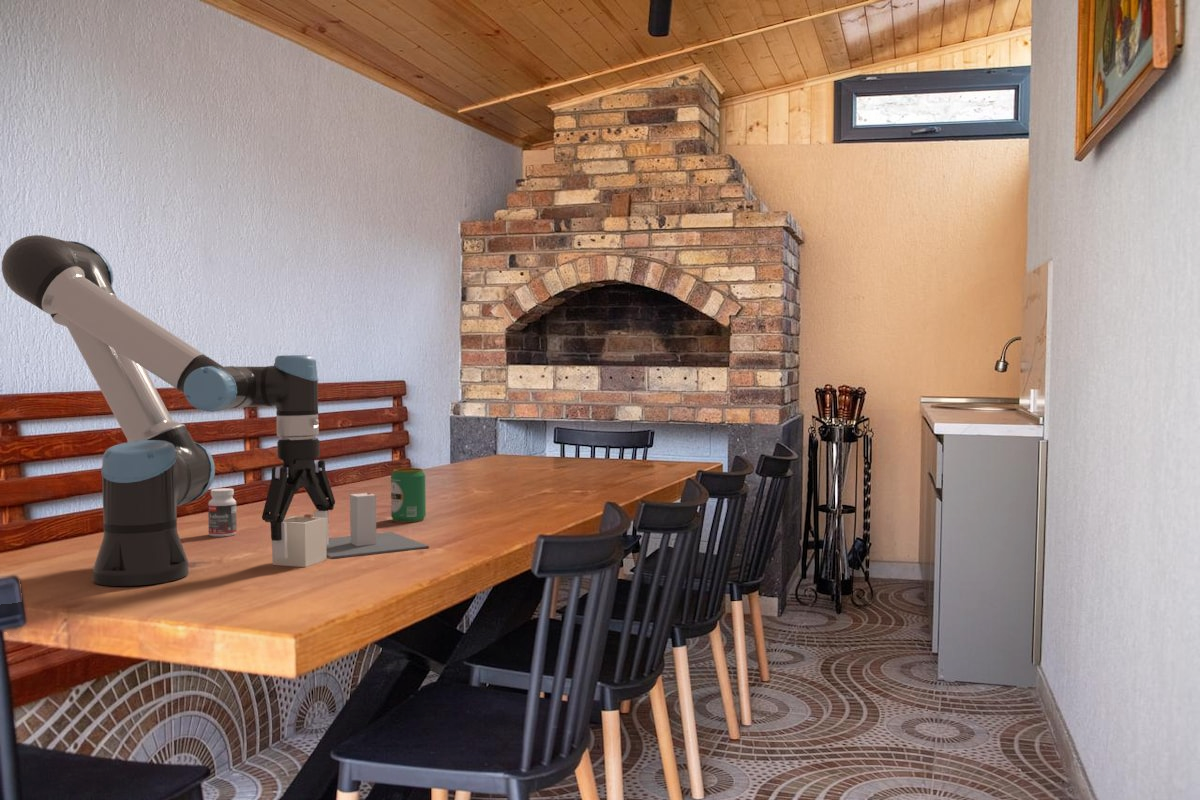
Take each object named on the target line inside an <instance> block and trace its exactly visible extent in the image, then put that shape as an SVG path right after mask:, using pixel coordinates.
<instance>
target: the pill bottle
mask: <svg viewBox="0 0 1200 800" xmlns="http://www.w3.org/2000/svg"><path fill="white" fill-rule="evenodd" d="M234 494H235V490H234V488H231V487H230V488H227V487H224V488H220V487H219V488H212V489H211V490H210V496H211V499H210V500H209V501H208V505H207V506H208V507H207V508H208V512H207V513H208V535H209V536H210V537H214V538H215V537H216V538H219V537H220V538H221V537H222V538H223V537H224V538H225V537H230V536H234V535H236V534H237V524H238V523H237V500H235V498H233V497H234Z"/></svg>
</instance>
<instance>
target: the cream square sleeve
mask: <svg viewBox="0 0 1200 800" xmlns="http://www.w3.org/2000/svg"><path fill="white" fill-rule="evenodd" d="M283 522H287V548H288V558H272V566H287V567H299V568H300V567H301V568H306V567H310V566H312V565H317V564H318V563H321V562H324V561H327V558H328V557H327V553H326V518H319V517H314V514H308V513H307V514H303V516H296V515H295V516H294V515H293V516H290V517H285V518H284V520H283Z"/></svg>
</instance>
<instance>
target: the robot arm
mask: <svg viewBox="0 0 1200 800" xmlns="http://www.w3.org/2000/svg"><path fill="white" fill-rule="evenodd" d="M1 271H2V276H3V279H4V282H5V283H6V285H7V286H8V287H9V289H10V290H11V291H12V292H14V294H16V295H17V296H19V297H20V298H22V299H23V300H24V301H27V302H29V303H30V304H32V305H33V306H35V307H37V308H38V309H39V310H41V311H42V312H44V313H46V314H48V315H50V317H51V319H52V321H53V322H54V323H55V324H58V325H60V326H64V327H66V328H67V330H68V332H69V333H70V335H71V338H72V339H73V341H74V344H75V345H76V346H77V348H78V350H79V352H80V354H81V356H82V358H83V360H84V361H85V363H86V366H87V367H88V369H89V371H90V373H91V375H92V376H93V378H94V381H96V384H97V386H98V388H99V389H100V391H101V394H102V395H103V397H104V398H105V401H106V402H107V405H108V406H109V408H110V410H111V412H112V414H113V416H114V417H115V419H116V421H117V422H118V425H119V426H120V428H121V430H122V432H123V434H124V436H125V438H126V440H127V441H126V442H122V443H117V444H115V445H113V446H110V447H108V448H106V450H105V452H103V455H102V465H101V468H100V472H101V476H102V477H101V480H102V485H101V486H102V517H103V536H102V537H103V538H102V540H101V544H100V545H99V550H98V552H97V555H96V559H95V562H94V565H93V570H92V571H93V572H92V574H93V576H92V579H93V583H94V584H97V585H101V586H107V587H134V586H147V585H155V584H161V583H168V582H173V581H176V580H179V579H182V578H184V577H186V576H188V575H189V559H188V556H187V554H186V551H185V549H184V547H183V543H182V541H181V538H180V536H179V533H178V523H177V522H178V520H177V519H178V517H177V515H178V513H177V512H178V511H177V510H178V508H177V507H181V506H186V505H189V504H191V503H193V502H195V501H197V500H199V498H201V497H202V496H204V495H205V494H206V493H207V492H208V490H209V489H210V488H211V487H212V484H213V482H214V479H215V475H216V466H215V462H214V458H213V456H212V454H211V452H210V451H209V450H208V449H207V448H206V447H205V446H203V445H202V444H200V443H198V442H196V441H194V439H193V437H192V435H191V433H190V432H189V430H188V428H187V426H186V425H185V424H184V423H181V422H178V421H175V420H173V417H172V416H171V414H170V412H169V410H168V409H167V407H166V405H165V403H164V401H163V399H162V397H161V395H160V394H159V392H158V390H157V388H156V386H155V385H154V382H153V380H152V378H151V377H150V375H149V373H152V374H153V375H155V377H158V378H159V379H160V380H162V381H164V382H165V383H167V384H169V385H170V386H171V387H173V388H175V389H176V390H177V391H180V392H181V393H182V394H184V398H186V400H187V402H188V403H189V404H190V405H191V406H192V407H193V408H195V409H198V410H199V411H206V412H211V413H213V412H220V411H225V410H229V409H239V408H253V407H254V408H255V407H257V408H258V407H275V409H276V436H277V437H278V438H280V439H278V440H277V442H276V443H277V444H276V445H277V458H278V459H279V460H281V461H282V462H283V465H282V466H273V467H271V479H270V484H269V487H268V491H267V495H266V500H265V503H264V507H263V512H262V515H261V519H262V520H263V521H264V522H265V523H270V538H271V551H272V553H271V555H272V556H271V557H272V559H273V558H288V548H287V522H283V520H284V519H285V518H286V515H287V513H288V511H289V509H290V505H291V503H292V500H293V499H294V495H295V494H296V493H297V492H298V491H299V490H300V489H303V488H304V490H305V491H306V493H307V494H308V497H309V498H310V500H311V502H312V504H313V505H314V507H315V509H316V510H314V511H313V517H319V518H326V545H328V544H329V538H330V537H329V534H330V533H329V511H332V510H334V508H335V504H336V499H335V497H334V493H333V489H332V488H331V484H330V481H329V478H328V475H327V472H326V471H327V470H326V464H325V463H326V462H325V460H324V459H323V460H322V459H318V458H319V457H320V451H321V450H320V439H319V438H317V437H316V436H319V433H320V427H319V423H320V421H319V378H318V369H317V366H318V365H317V361H316V358H315V357H314V356H312V355H310V354H309V355H307V354H298V355H297V354H296V355H295V354H291V355H288V354H287V355H285V354H284V355H277V356H275V358H274V363H273V365H270V366H269V365H267V366H234V365H230V366H229V365H228V366H227V365H226V366H223V365H221V364H220V363H218V362H217V361H215V360H213V359H212V358H211V357H209V356H207V355H206V354H204V353H203V352H201V351H200V350H198V349H197V348H195V347H193V346H192V345H191V344H189V343H187V342H186V341H184V340H183V339H182V338H180V337H178V336H176V335H175V334H173V333H172V332H171V331H169V330H167V329H165V328H164V327H162V326H161V325H159V324H158V323H156V322H154V321H153V320H151V319H150V318H148V317H146V316H145V315H143V314H142V313H141V312H139V311H138V310H136V309H135V308H133V307H131V306H130V305H128V304H126V303H125V302H123V301H122V300H121V299H119V298H118V297H117V294H116V293H115V291H114V288H113V283H114V274H113V273H114V272H113V270H112V266H111V264H110V262H109V261H108V259H107V258H106V256H104V255H103V254H102V253H101V252H100V251H98V250H96V249H95V248H93V247H91V246H89V245H86V243H85V244H84V243H81V242H78V241H74V240H73V241H72V240H71V241H70V240H62V239H59V238H56V237H52V236H47V235H39V234H35V235H27V236H25V237H22V238H20V239H18V240H15V241H14V242H13V243H11V244H10V246H9V247H8V248H7V249H6V250H5V252H4V255H3V257H2V260H1ZM148 372H149V373H148Z"/></svg>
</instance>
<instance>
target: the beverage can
mask: <svg viewBox="0 0 1200 800" xmlns="http://www.w3.org/2000/svg"><path fill="white" fill-rule="evenodd" d="M390 495H391V496H390V498H391V499H390V500H391V501H390V502H391V503H390V504H391V505H390V509H391V510H390V511H391V513H390V514H391V518H392V521H393V522H395V523H417V522H422V521H424V519H425V517H426V512H427V510H426V509H427V508H426V503H427V502H426V473H425V472H424V470H423V468H418V467H417V468H416V467H404V468H394V469H393V471H392V473H391V475H390Z"/></svg>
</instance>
